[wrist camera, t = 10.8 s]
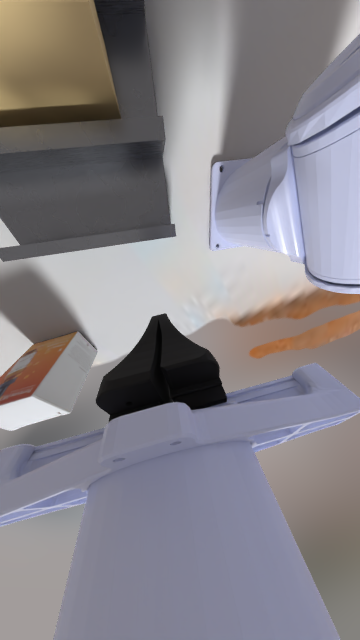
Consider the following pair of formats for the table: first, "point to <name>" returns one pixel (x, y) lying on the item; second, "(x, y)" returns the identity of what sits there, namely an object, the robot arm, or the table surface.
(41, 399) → the small box
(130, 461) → the robot arm
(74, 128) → the rack
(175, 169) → the table surface
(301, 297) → the table surface
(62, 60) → the tan rectangular block
